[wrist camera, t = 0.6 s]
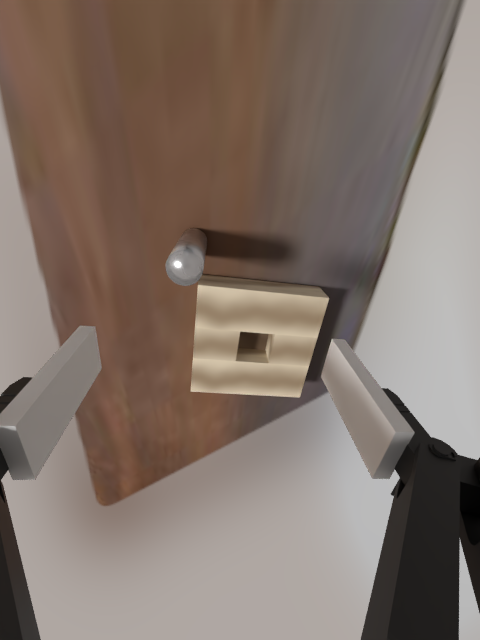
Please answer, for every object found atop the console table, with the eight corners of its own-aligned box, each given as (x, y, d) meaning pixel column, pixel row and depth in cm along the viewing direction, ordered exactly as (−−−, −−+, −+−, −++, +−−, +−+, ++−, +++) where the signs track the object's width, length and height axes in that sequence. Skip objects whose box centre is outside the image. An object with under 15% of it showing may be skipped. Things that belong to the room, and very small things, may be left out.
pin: (181, 226, 33) (166, 247, 23) (208, 229, 34) (204, 252, 24) (180, 253, 35) (165, 283, 25) (206, 256, 35) (201, 287, 25)
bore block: (199, 274, 36) (198, 284, 32) (318, 286, 38) (329, 298, 34) (192, 373, 43) (190, 391, 40) (293, 379, 45) (299, 397, 42)
